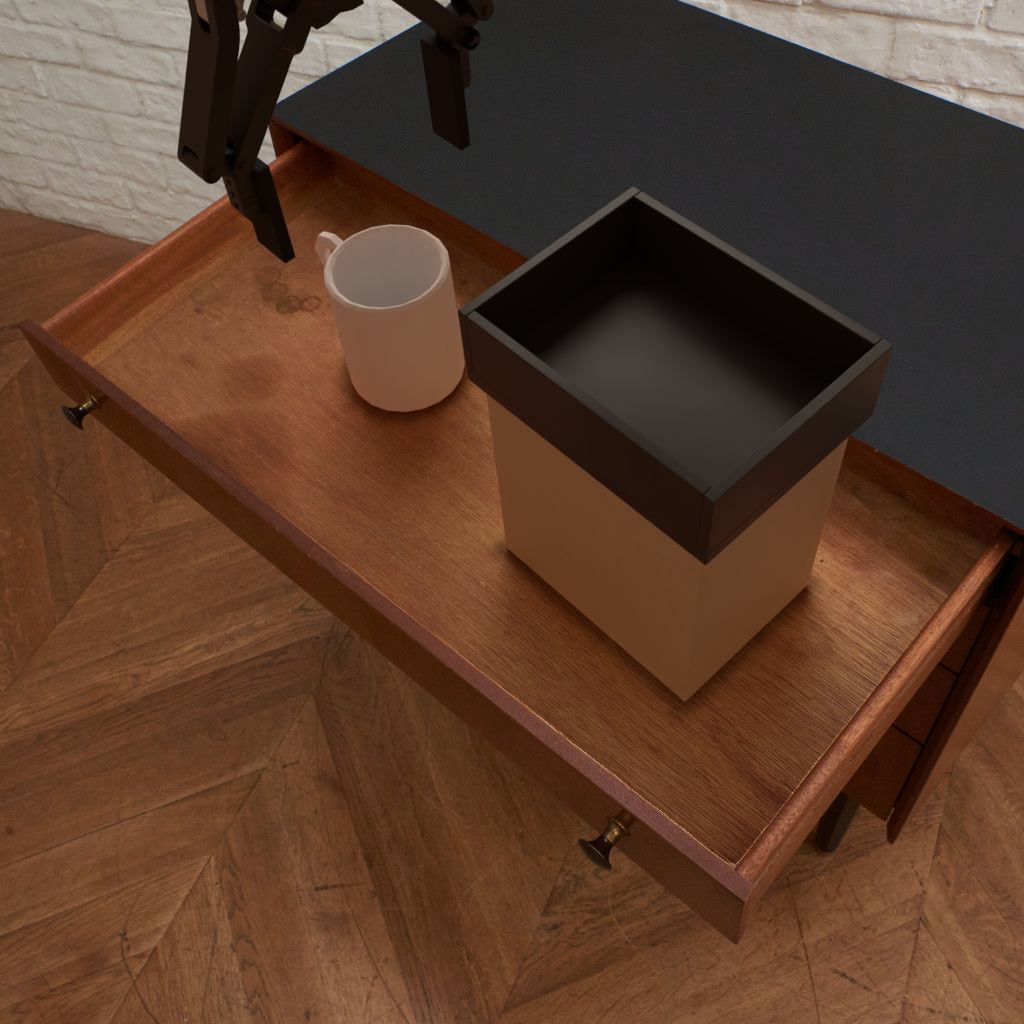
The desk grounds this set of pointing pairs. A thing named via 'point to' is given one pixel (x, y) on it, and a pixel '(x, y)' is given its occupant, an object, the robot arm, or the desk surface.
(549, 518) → the stand
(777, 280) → the basket
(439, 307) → the mug
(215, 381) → the desk surface
